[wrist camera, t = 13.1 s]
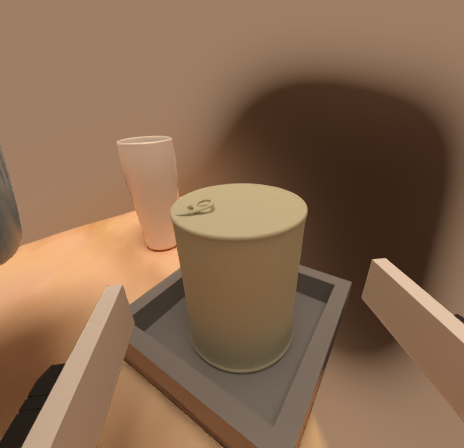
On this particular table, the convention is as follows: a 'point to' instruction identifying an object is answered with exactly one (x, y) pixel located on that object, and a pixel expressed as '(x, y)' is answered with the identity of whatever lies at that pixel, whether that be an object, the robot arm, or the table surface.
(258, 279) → the can
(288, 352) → the tray
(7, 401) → the table surface
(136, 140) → the drinking glass
